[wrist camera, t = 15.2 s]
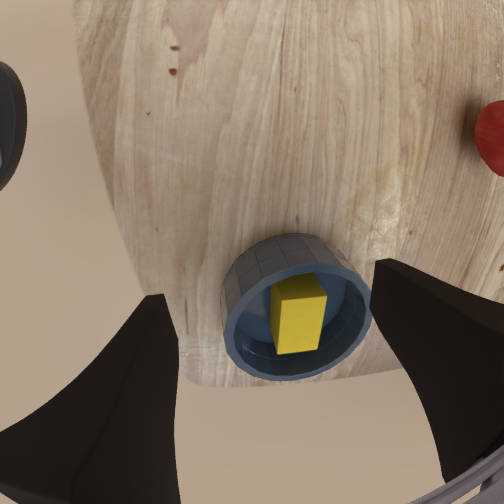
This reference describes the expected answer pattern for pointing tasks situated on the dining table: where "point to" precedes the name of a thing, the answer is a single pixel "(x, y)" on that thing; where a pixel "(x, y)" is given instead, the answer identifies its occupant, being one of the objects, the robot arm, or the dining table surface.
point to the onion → (491, 136)
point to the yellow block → (297, 313)
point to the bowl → (259, 297)
